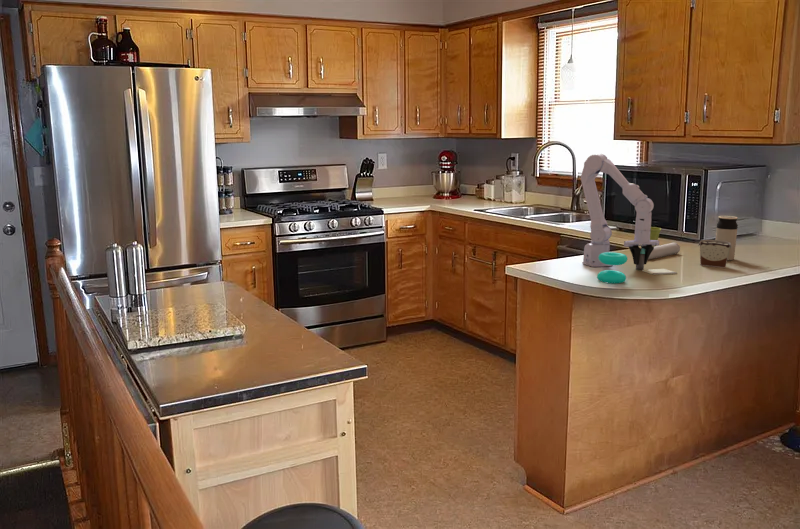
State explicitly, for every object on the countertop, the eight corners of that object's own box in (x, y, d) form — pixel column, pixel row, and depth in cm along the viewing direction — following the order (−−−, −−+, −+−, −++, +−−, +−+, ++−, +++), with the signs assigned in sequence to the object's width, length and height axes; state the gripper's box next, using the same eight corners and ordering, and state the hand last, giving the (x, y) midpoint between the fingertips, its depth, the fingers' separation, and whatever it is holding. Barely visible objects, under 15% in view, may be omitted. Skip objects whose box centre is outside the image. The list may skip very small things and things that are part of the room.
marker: (638, 270, 278) (640, 250, 276) (633, 268, 281) (635, 248, 280) (645, 269, 279) (647, 249, 277) (640, 268, 282) (642, 248, 280)
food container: (731, 265, 290) (733, 241, 288) (729, 268, 284) (732, 243, 282) (698, 262, 296) (701, 238, 294) (696, 264, 290) (698, 240, 288)
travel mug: (735, 261, 299) (739, 218, 296) (714, 259, 302) (718, 217, 298) (732, 257, 307) (737, 216, 303) (712, 256, 309) (716, 215, 306)
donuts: (600, 250, 263) (628, 252, 259) (598, 277, 265) (626, 279, 261) (597, 255, 253) (626, 257, 250) (595, 282, 255) (624, 285, 252)
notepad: (654, 275, 269) (654, 273, 269) (641, 270, 277) (642, 269, 277) (677, 273, 272) (677, 272, 272) (664, 269, 280) (664, 268, 280)
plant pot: (657, 245, 337) (659, 227, 335) (662, 248, 328) (663, 229, 326) (637, 244, 338) (638, 226, 337) (640, 247, 329) (642, 229, 327)
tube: (650, 252, 297) (682, 245, 312) (640, 246, 300) (671, 240, 316) (646, 263, 299) (677, 256, 315) (635, 257, 302) (667, 250, 318)
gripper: (632, 231, 271) (629, 266, 274) (665, 230, 275) (662, 265, 278) (621, 229, 278) (619, 263, 280) (654, 228, 282) (651, 261, 284)
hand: (640, 264), depth 280 cm, fingers closed on marker, 3 cm apart
